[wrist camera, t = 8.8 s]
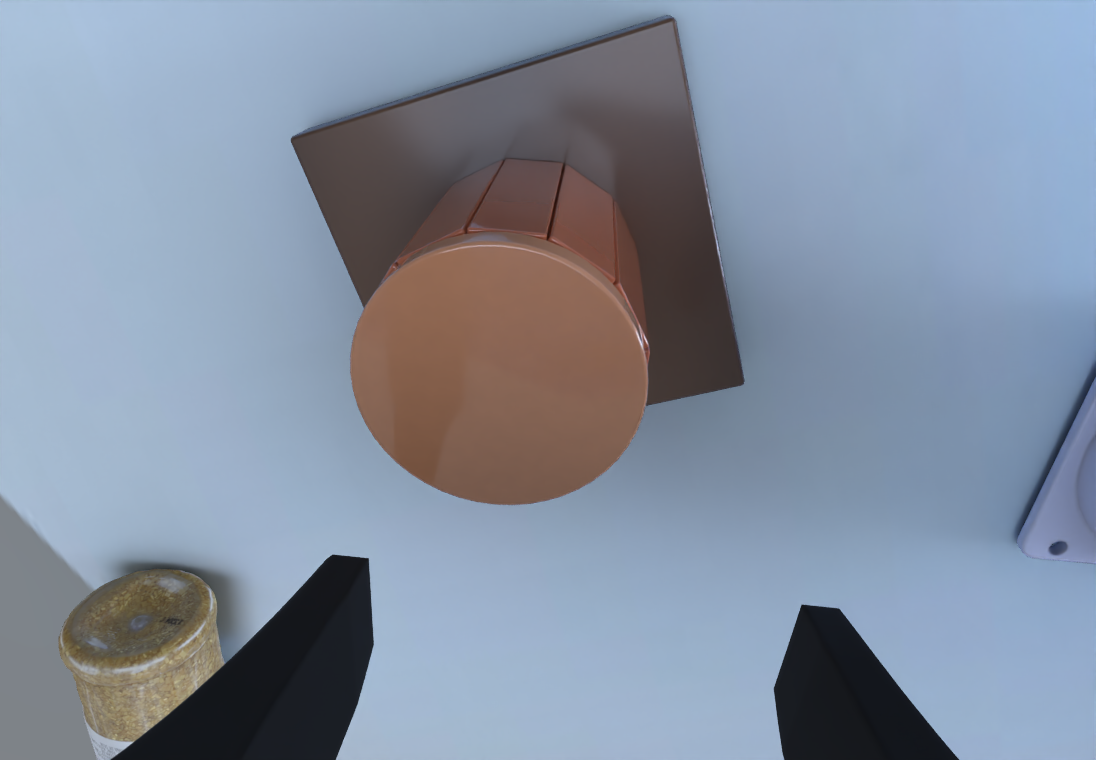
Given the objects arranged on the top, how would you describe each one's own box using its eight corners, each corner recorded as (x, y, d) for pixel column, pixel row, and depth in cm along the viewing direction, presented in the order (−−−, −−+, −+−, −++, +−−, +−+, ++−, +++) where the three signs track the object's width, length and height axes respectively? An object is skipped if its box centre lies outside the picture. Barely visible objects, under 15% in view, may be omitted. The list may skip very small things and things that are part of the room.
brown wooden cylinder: (648, 168, 17) (669, 256, 11) (623, 370, 19) (629, 518, 14) (421, 151, 17) (337, 228, 11) (425, 353, 19) (358, 493, 14)
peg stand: (670, 13, 16) (700, 27, 11) (738, 364, 20) (782, 491, 15) (306, 128, 18) (189, 186, 13) (435, 431, 22) (384, 564, 17)
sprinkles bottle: (221, 554, 26) (260, 785, 32) (73, 573, 24) (145, 810, 31) (208, 658, 22) (256, 896, 28) (32, 687, 21) (124, 929, 27)
